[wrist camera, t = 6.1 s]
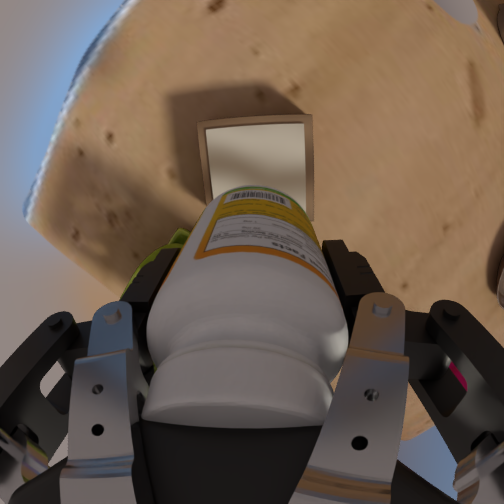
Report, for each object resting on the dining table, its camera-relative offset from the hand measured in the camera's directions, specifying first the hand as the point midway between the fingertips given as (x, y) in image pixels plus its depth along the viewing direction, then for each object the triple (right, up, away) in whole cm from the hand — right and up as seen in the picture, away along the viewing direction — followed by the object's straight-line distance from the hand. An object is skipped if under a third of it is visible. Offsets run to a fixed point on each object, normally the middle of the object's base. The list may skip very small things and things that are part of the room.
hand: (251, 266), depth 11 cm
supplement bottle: (0, +1, +2) cm, 3 cm away
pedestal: (+1, +10, +17) cm, 20 cm away
